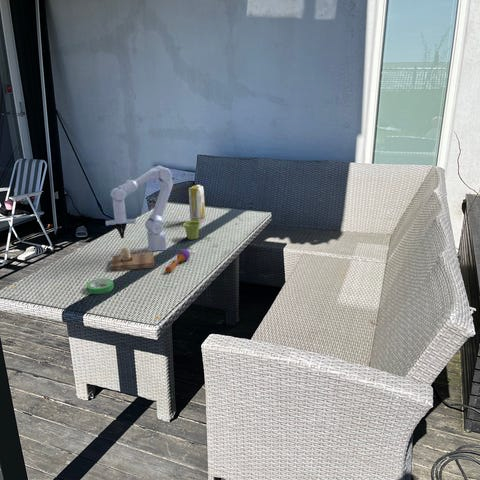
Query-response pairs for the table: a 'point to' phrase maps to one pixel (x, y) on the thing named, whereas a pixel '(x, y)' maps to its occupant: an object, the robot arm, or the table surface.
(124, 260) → the beech peg
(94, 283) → the tape roll
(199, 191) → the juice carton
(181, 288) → the table surface
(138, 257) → the walnut board
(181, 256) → the kendama
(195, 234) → the plant pot
